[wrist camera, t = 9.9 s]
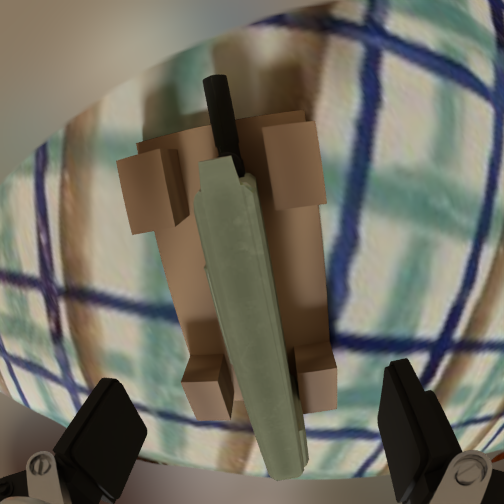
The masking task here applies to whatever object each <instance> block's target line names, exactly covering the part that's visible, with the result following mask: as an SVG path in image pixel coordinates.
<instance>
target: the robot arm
mask: <svg viewBox="0 0 504 504" xmlns="http://www.w3.org/2000/svg"><path fill="white" fill-rule="evenodd" d="M378 427H379V431H380V435H381V438H382V442H383V446H384V450H385V454H386V458H387V462H388V466H389V470H390V474H391V479H392V483H393V487H394V492H395V496H396V500H397V502H398V503H400V502H402V504H504V472H502V471H498V470H495V469H492V463H491V461H490V459H489V457H488V456H486V454H484V453H483V452H480V451H478V450H469V451H464V452H462V450H461V447H460V445H459V443H458V441H457V438H456V436H455V434H454V432H453V430H452V428H451V425H450V423H449V421H448V419H447V417H446V415H445V413H444V411H443V409H442V407H441V405H440V403H439V401H438V399H437V397H436V395H435V393H434V392H433V391H432V390H428V391H424V389H423V387H422V385H421V383H420V381H419V379H418V377H417V375H416V373H415V371H414V369H413V367H412V366H411V364H410V362H409V360H408V359H407V358H405V359H400V360H396V361H391V362H390V365H389V366H388V367H385V370H384V378H383V386H382V393H381V400H380V406H379V412H378ZM146 436H147V428H146V426H145V424H144V422H143V421H142V419H141V417H140V416H139V414H138V412H137V410H136V409H135V407H134V405H133V403H132V401H131V400H130V398H129V396H128V394H127V392H126V390H125V388H124V387H123V385H122V384H121V383H120V382H119V381H118V380H117V379H113V378H102V379H101V380H100V381H99V383H98V384H97V385H96V387H95V388H94V390H93V391H92V392H91V394H90V395H89V397H88V398H87V400H86V401H85V403H84V404H83V405H82V407H81V408H80V410H79V411H78V413H77V414H76V416H75V417H74V419H73V420H72V421H71V423H70V424H69V426H68V427H67V429H66V430H65V432H64V434H63V435H62V437H61V438H60V440H59V441H58V443H57V444H56V446H55V447H54V449H53V451H54V452H55V456H53V455H52V454H51V453H49V452H47V451H41V452H37V453H35V454H34V455H32V456H31V457H30V459H29V460H28V462H27V466H26V470H24V471H22V472H19V473H15V474H12V475H9V476H6V477H3V478H1V479H0V504H99V502H100V500H102V501H105V502H108V503H111V504H114V503H115V501H116V499H118V498H119V497H120V496H121V494H122V491H123V489H124V487H125V484H126V482H127V480H128V477H129V475H130V473H131V470H132V468H133V466H134V463H135V461H136V459H137V457H138V454H139V452H140V450H141V447H142V445H143V443H144V441H145V438H146Z"/></svg>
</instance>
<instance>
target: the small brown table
mask: <svg viewBox="0 0 504 504" xmlns="http://www.w3.org/2000/svg"><path fill="white" fill-rule="evenodd" d="M235 122H236V127H237V132H238V137H239V142H240V143H238V144H239V149H240V154H241V159H243V162H244V167H245V172H246V173H251V174H252V175H253V176H255V177H256V181H257V185H258V191H259V196H260V201H261V207H262V212H263V218H264V223H265V229H266V234H267V240H268V245H269V251H270V256H271V262H272V268H273V273H274V279H275V285H276V291H277V296H278V302H279V308H280V314H281V320H282V326H283V332H284V338H285V344H286V350H287V356H288V363H289V369H290V374H291V375H293V376H294V377H295V378H296V380H297V381H298V387H299V397H300V401H301V406H302V412H303V414H307V413H314V412H321V411H327V410H333V409H337V366H336V362H335V359H334V355H333V352H332V348H331V345H330V341H329V322H328V305H327V290H326V277H325V265H324V254H323V244H322V234H321V225H320V216H319V207H318V205H320V204H327V200H326V192H325V184H324V177H323V169H322V162H321V155H320V149H319V142H318V136H317V130H316V124H315V121H308V122H306V119H305V113H304V110H298V111H289V112H282V113H274V114H267V115H261V116H254V117H248V118H242V119H237V120H235ZM136 145H137V150H138V155H134V156H131V157H128V158H124V159H121V160H118V161H116V163H117V168H118V173H119V178H120V183H121V188H122V193H123V197H124V202H125V206H126V211H127V215H128V219H129V224H130V228H131V232H132V235H134V234H140V233H145V232H150V231H154V232H155V236H156V240H157V244H158V248H159V252H160V256H161V260H162V263H163V267H164V271H165V275H166V278H167V282H168V285H169V289H170V292H171V296H172V299H173V303H174V306H175V309H176V313H177V316H178V319H179V322H180V325H181V329H182V332H183V335H184V338H185V341H186V344H187V347H188V350H189V353H190V358H189V361H188V364H187V367H186V369H185V372H184V375H183V378H182V380H181V384H182V386H183V389H184V391H185V394H186V396H187V398H188V401H189V403H190V405H191V408H192V410H193V412H194V414H195V417H196V419H197V420H200V421H207V420H231V413H232V406H233V401H240V400H243V397H242V394H241V390H240V388H239V385H238V381H237V378H236V374H235V371H234V367H233V365H232V364H231V363H230V359H229V356H228V353H227V349H226V346H225V342H224V339H223V335H222V332H221V328H220V325H219V321H218V318H217V314H216V310H215V307H214V303H213V299H212V295H211V292H210V288H209V284H208V280H207V276H206V272H205V270H204V266H205V264H206V262H205V258H204V254H203V249H202V245H201V241H200V237H199V232H198V228H197V224H196V219H195V215H194V205H193V202H194V197H195V195H196V194H197V192H198V191H199V190H200V178H199V166H198V162H200V161H204V160H209V159H214V158H217V157H218V156H219V155H218V150H217V147H215V142H214V137H213V132H212V127H211V125H206V126H202V127H197V128H193V129H188V130H184V131H180V132H176V133H172V134H168V135H164V136H160V137H157V138H153V139H149V140H146V141H142V142H139V143H136Z"/></svg>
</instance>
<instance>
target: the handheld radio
mask: <svg viewBox="0 0 504 504" xmlns="http://www.w3.org/2000/svg"><path fill="white" fill-rule="evenodd" d="M203 85H204V91H205V96H206V101H207V106H208V111H209V117H210V122H211V127H212V132H213V137H214V142H215V147H217V150H218V155H219V156H218V157H217V158H214V159H209V160H204V161H200V162H198V166H199V178H200V190H199V191H198V192H197V194H196V195H195V197H194V202H193V205H194V215H195V219H196V224H197V228H198V232H199V237H200V241H201V245H202V249H203V254H204V258H205V262H206V264H205V266H204V270H205V272H206V276H207V280H208V284H209V288H210V292H211V295H212V299H213V303H214V307H215V310H216V314H217V318H218V321H219V325H220V328H221V332H222V335H223V339H224V342H225V346H226V349H227V353H228V356H229V359H230V363H231V364H232V365H233V367H234V371H235V374H236V378H237V381H238V385H239V388H240V390H241V394H242V397H243V400H244V403H245V406H246V409H247V412H248V415H249V418H250V421H251V424H252V427H253V430H254V433H255V436H256V439H257V442H258V445H259V448H260V451H261V454H262V456H263V459H264V462H265V465H266V468H267V470H268V473H269V475H270V477H271V478H273V479H274V480H276V481H278V480H285V479H291V478H297V477H299V476H301V474H302V473H303V471H304V467H305V466H306V465H307V463H308V460H309V457H308V448H307V440H306V432H305V425H304V418H303V412H302V406H301V401H300V397H299V387H298V381H297V380H296V378H295V377H294V376H293V375H291V374H290V369H289V363H288V356H287V350H286V344H285V338H284V332H283V326H282V320H281V314H280V308H279V302H278V296H277V291H276V285H275V279H274V273H273V268H272V262H271V256H270V251H269V245H268V240H267V234H266V229H265V223H264V218H263V212H262V207H261V201H260V196H259V191H258V185H257V181H256V177H255V176H253V175H252V174H251V173H246V172H245V167H244V162H243V159H241V154H240V149H239V144H238V143H240V142H239V137H238V132H237V127H236V122H235V117H234V111H233V106H232V101H231V96H230V91H229V86H228V81H227V77H226V75H212V76H209V77H207V78H205V79H203Z"/></svg>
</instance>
